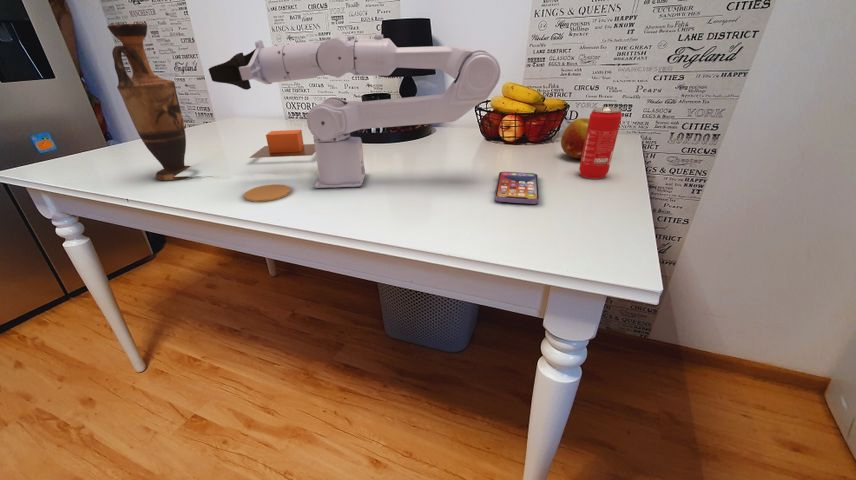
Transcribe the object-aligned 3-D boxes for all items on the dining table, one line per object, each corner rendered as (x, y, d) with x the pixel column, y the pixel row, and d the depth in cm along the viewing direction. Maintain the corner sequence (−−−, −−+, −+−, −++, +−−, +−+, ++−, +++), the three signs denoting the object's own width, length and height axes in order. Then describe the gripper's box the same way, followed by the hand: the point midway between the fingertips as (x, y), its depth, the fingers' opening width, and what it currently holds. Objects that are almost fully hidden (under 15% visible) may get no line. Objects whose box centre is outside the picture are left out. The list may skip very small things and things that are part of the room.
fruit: (604, 164, 84) (613, 124, 80) (557, 162, 87) (564, 123, 82) (601, 152, 91) (609, 115, 87) (558, 151, 94) (564, 115, 90)
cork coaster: (295, 185, 82) (295, 183, 82) (283, 201, 75) (283, 199, 75) (253, 187, 83) (253, 185, 83) (237, 202, 76) (236, 200, 75)
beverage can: (578, 178, 77) (591, 112, 71) (578, 170, 81) (590, 107, 75) (607, 180, 75) (624, 112, 69) (606, 172, 79) (622, 107, 73)
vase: (188, 166, 100) (144, 25, 85) (209, 173, 94) (165, 22, 78) (143, 177, 94) (86, 26, 78) (163, 185, 87) (104, 23, 72)
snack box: (304, 147, 105) (301, 129, 102) (300, 151, 101) (296, 133, 98) (274, 148, 105) (271, 131, 103) (269, 153, 102) (265, 134, 99)
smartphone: (537, 177, 79) (538, 205, 66) (498, 175, 80) (493, 202, 68) (537, 173, 78) (539, 200, 66) (499, 171, 80) (494, 197, 68)
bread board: (322, 149, 108) (322, 143, 108) (313, 161, 98) (312, 155, 97) (265, 151, 110) (264, 146, 109) (250, 163, 99) (248, 157, 99)
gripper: (296, 33, 76) (230, 41, 78) (268, 42, 64) (192, 52, 67) (304, 74, 80) (242, 81, 82) (280, 89, 68) (208, 97, 71)
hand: (221, 70), depth 75 cm, fingers open, 7 cm apart
